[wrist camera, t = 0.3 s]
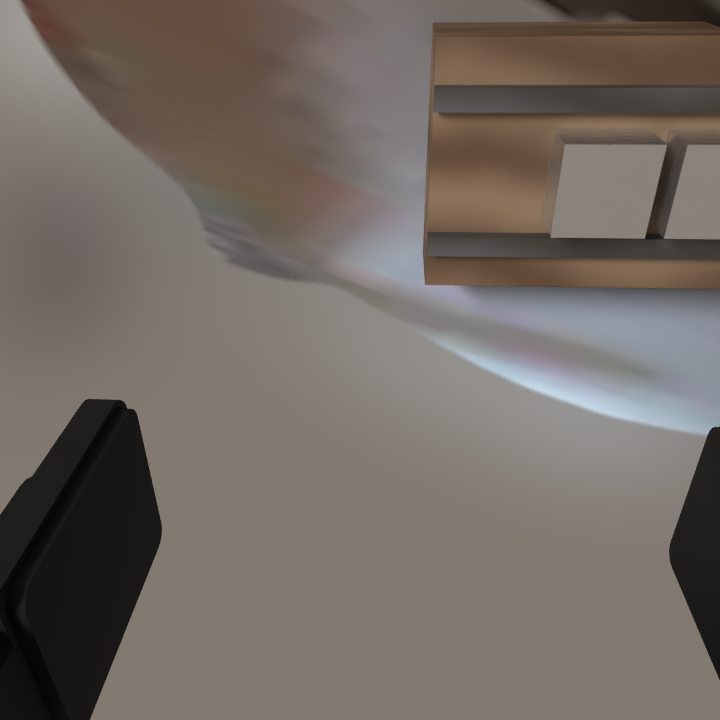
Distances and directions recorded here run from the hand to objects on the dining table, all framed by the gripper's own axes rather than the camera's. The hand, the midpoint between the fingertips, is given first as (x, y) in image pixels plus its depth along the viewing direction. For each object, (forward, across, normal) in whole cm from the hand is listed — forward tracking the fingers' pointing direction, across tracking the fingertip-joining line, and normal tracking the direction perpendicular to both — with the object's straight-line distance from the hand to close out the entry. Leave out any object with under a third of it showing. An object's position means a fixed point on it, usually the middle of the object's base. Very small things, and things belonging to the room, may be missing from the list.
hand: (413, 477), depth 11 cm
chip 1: (+29, -10, +4) cm, 31 cm away
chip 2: (+29, -16, +4) cm, 34 cm away
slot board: (+34, -11, +4) cm, 36 cm away
